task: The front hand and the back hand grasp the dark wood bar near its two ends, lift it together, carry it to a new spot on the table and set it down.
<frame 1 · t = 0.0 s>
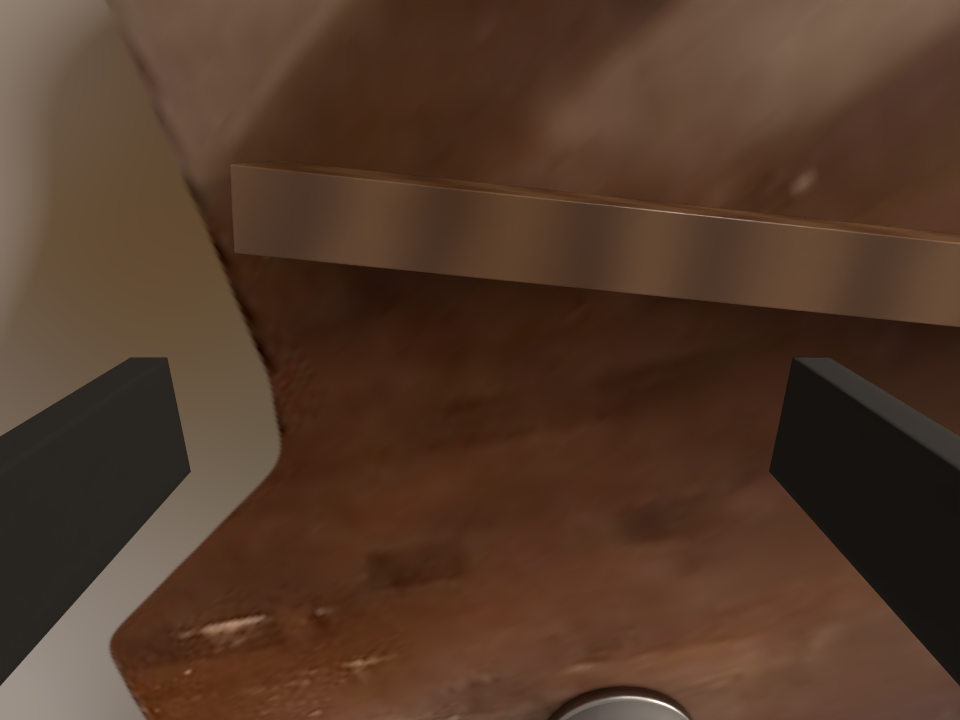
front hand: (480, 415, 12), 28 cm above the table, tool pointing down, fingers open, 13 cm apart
bar: (803, 253, 39), on the table
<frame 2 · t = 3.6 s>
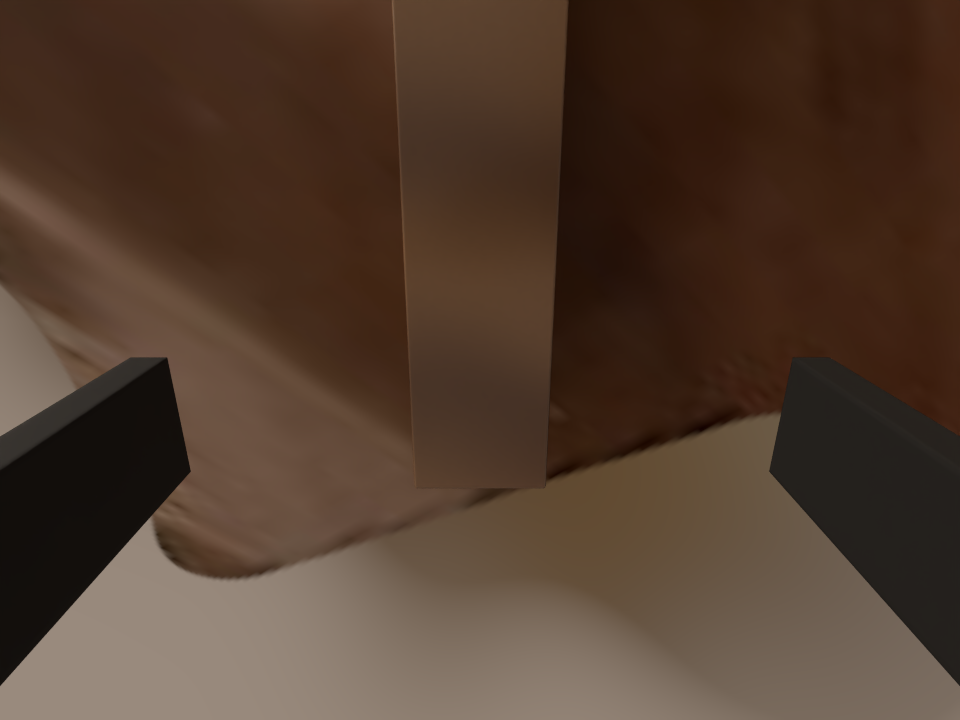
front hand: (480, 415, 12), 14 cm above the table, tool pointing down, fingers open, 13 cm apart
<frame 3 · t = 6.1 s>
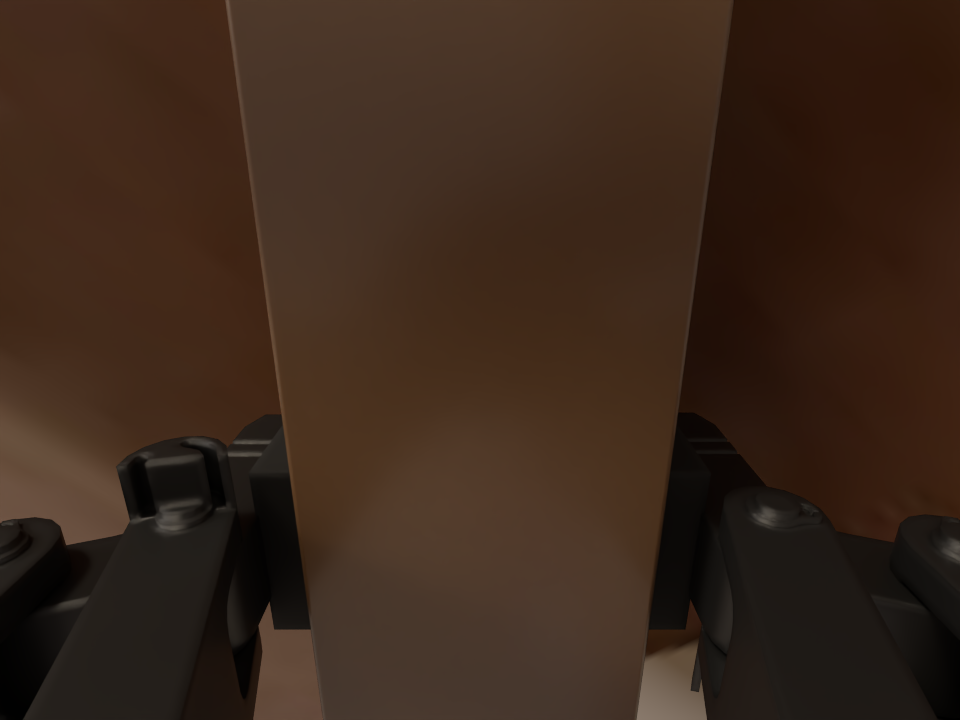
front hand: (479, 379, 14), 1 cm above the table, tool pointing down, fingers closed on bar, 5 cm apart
when the front hand's fingers open (2 cm above the table, at t = 12.3 s): bar drops 1 cm, on the table.
when the back hand's fingers open (4 cm above the table, at t = 12.5 s): bar stays where it is, on the table.
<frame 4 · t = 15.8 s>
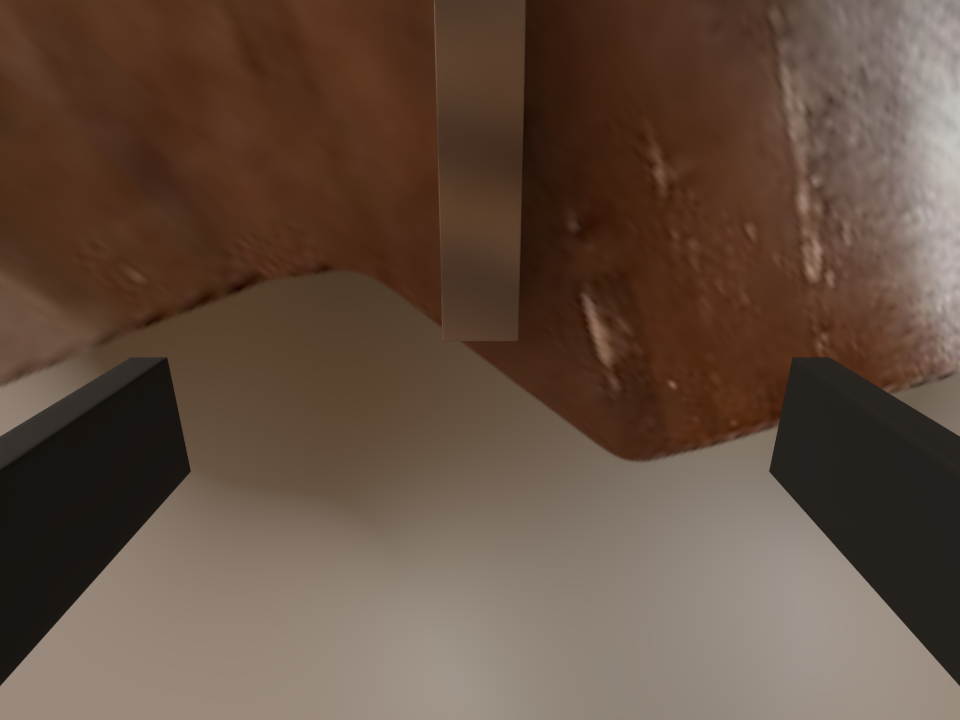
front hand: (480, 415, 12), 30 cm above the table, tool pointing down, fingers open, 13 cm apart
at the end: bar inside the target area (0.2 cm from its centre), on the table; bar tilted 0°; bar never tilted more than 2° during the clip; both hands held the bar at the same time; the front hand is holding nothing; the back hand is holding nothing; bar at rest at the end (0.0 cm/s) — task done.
